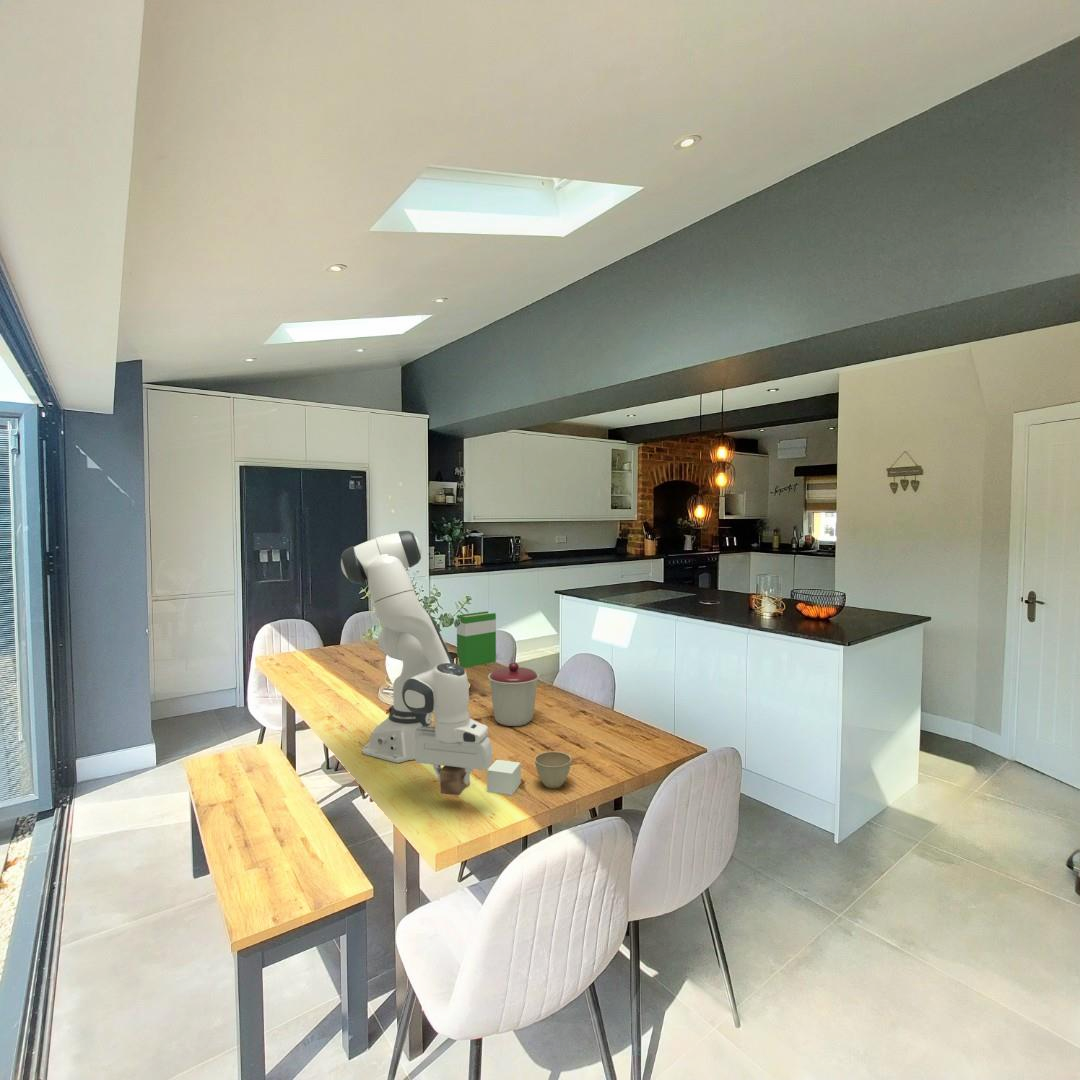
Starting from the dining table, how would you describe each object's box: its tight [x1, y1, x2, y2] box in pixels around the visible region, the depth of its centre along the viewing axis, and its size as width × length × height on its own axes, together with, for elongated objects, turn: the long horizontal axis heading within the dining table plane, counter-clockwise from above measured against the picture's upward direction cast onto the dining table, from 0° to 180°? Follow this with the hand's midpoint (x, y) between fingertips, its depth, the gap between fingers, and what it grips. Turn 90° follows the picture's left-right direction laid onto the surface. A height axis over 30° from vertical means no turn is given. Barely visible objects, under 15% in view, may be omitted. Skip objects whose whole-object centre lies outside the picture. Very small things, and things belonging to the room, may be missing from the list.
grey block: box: [486, 759, 522, 796], centre depth 162 cm, size 7×7×6 cm
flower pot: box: [534, 750, 572, 789], centre depth 164 cm, size 10×10×7 cm
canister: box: [487, 662, 540, 727], centre depth 212 cm, size 18×18×21 cm
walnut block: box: [439, 766, 468, 796], centre depth 152 cm, size 5×5×6 cm
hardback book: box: [456, 610, 497, 669], centre depth 291 cm, size 18×7×24 cm, turn 130°
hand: (453, 781), depth 152 cm, fingers closed on walnut block, 5 cm apart
